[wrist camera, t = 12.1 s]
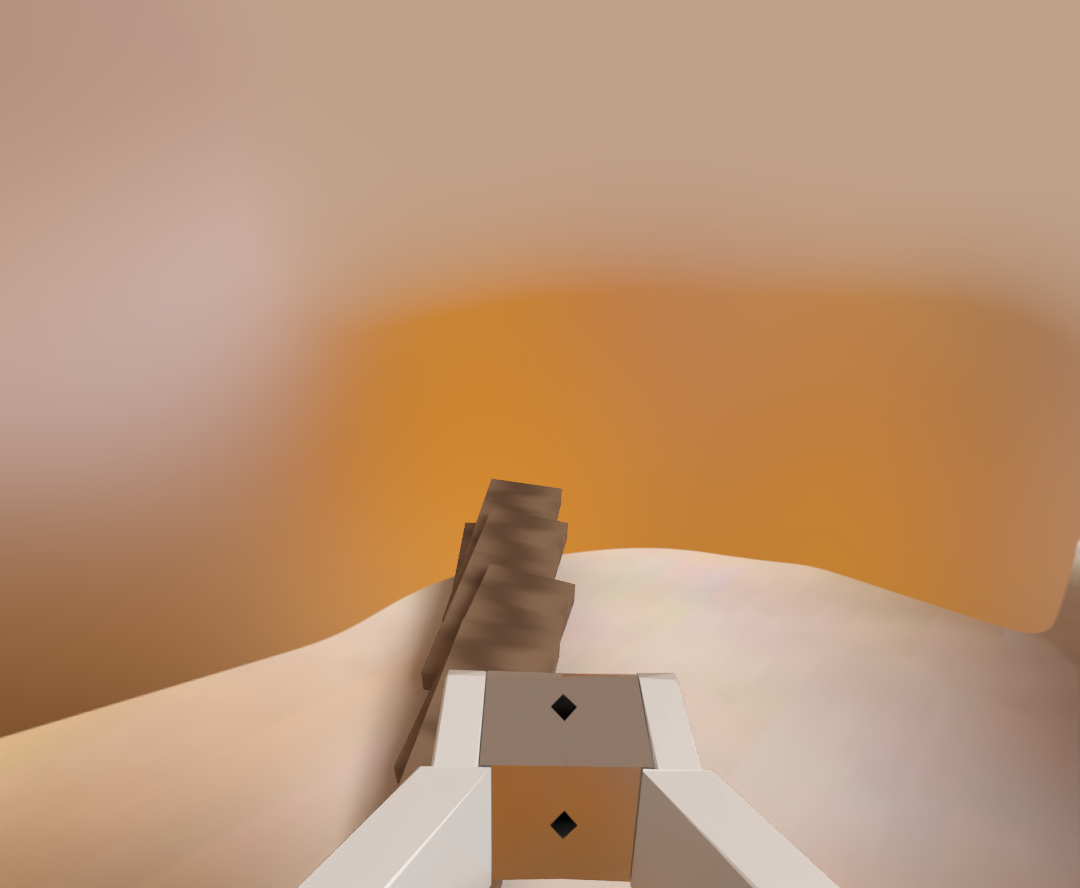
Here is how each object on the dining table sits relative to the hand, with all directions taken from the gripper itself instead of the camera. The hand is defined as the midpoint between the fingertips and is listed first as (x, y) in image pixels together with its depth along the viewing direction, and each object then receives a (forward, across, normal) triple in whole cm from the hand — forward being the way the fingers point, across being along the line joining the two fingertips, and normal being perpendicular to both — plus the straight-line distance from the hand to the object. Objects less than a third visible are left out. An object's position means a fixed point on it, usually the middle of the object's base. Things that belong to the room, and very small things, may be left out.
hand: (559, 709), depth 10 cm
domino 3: (+29, -4, -26) cm, 39 cm away
